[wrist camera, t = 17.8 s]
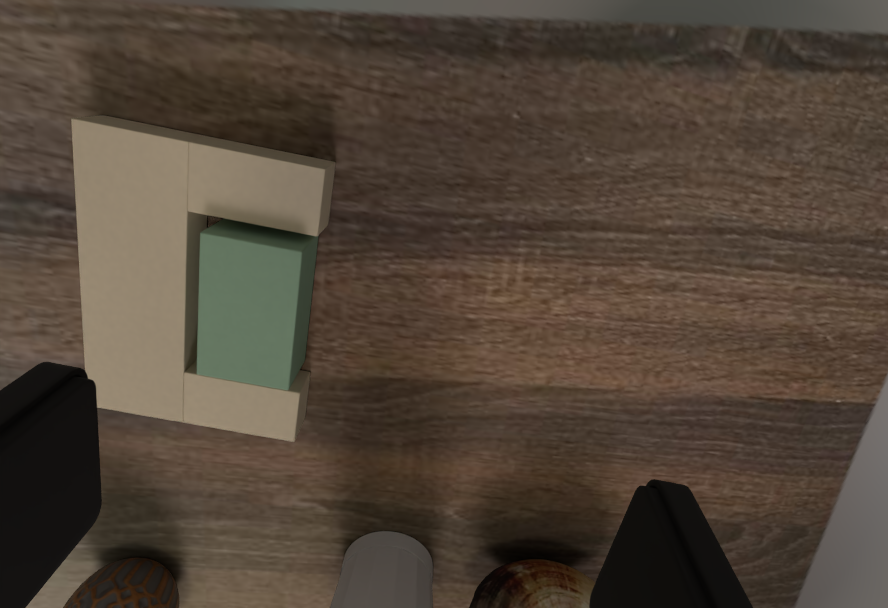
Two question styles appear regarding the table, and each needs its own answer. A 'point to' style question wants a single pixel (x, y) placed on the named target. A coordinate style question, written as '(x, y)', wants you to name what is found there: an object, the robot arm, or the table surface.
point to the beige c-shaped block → (177, 264)
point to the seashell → (534, 586)
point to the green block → (254, 302)
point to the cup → (385, 573)
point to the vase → (127, 587)
